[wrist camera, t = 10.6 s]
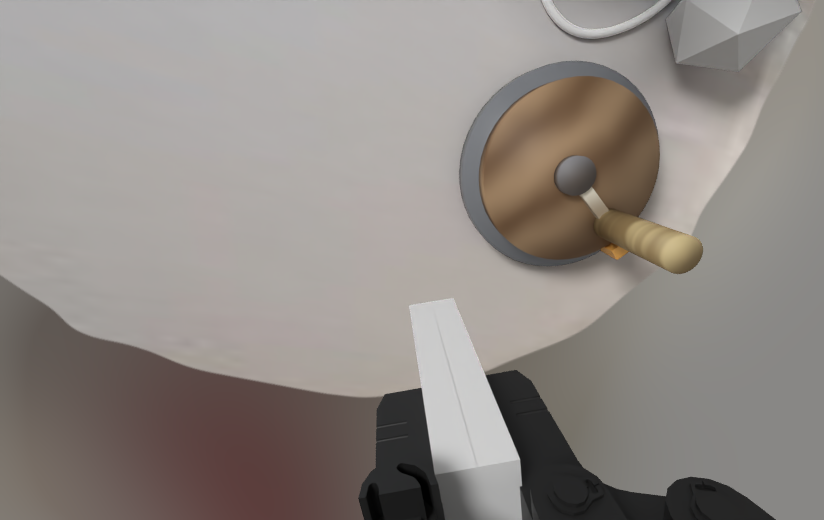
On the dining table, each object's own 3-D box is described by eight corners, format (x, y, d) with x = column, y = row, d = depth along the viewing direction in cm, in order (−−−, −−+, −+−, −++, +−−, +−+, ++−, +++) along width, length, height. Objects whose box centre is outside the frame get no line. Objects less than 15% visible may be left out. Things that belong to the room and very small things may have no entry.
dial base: (514, 26, 35) (535, 10, 30) (683, 116, 39) (724, 114, 34) (428, 222, 41) (434, 234, 36) (583, 283, 45) (607, 302, 40)
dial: (443, 168, 37) (471, 185, 25) (586, 35, 34) (688, -12, 23) (543, 284, 42) (604, 342, 30) (675, 176, 39) (796, 197, 28)
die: (645, 88, 39) (767, 94, 32) (642, 5, 32) (792, -8, 26) (684, 31, 40) (808, 25, 33) (688, -60, 34) (842, -88, 27)
